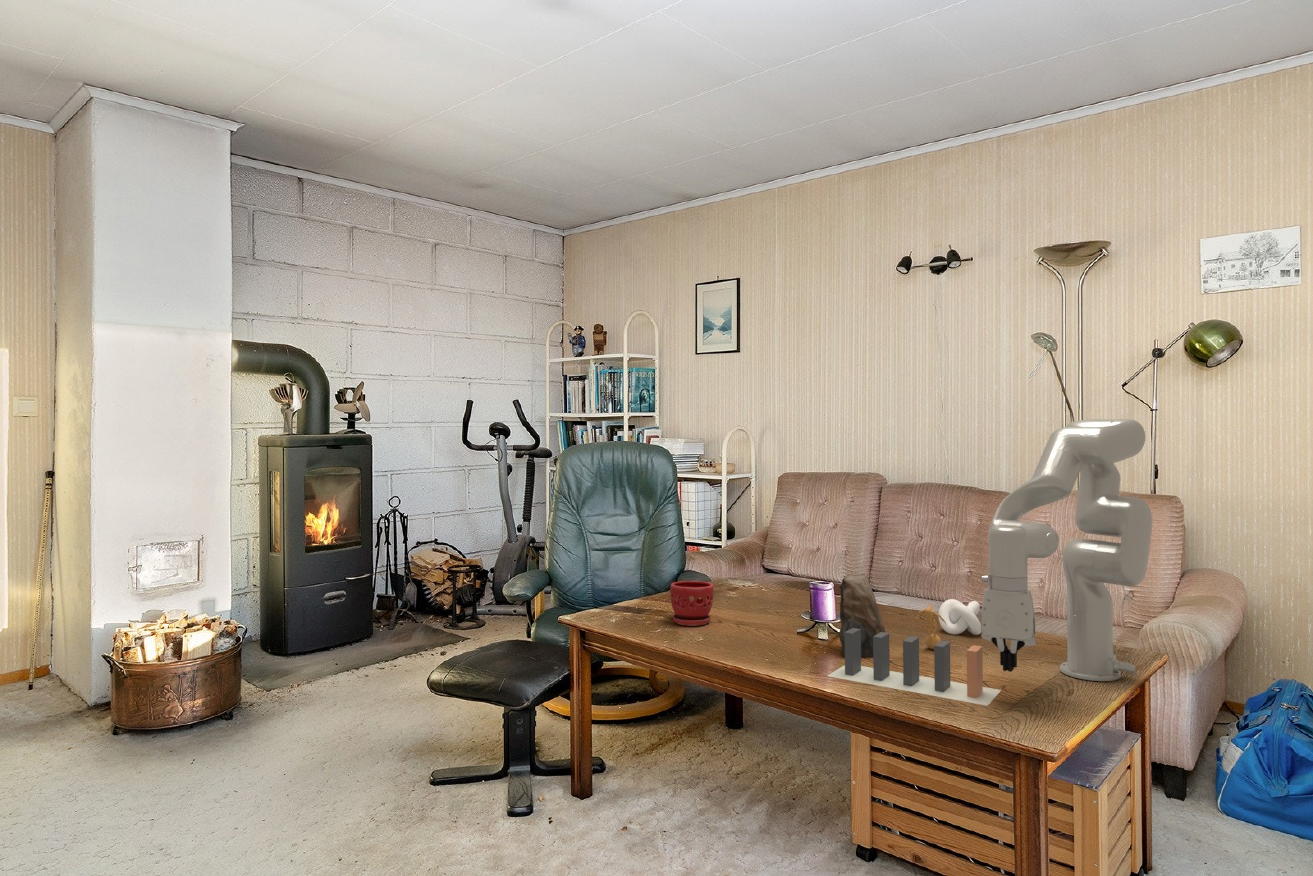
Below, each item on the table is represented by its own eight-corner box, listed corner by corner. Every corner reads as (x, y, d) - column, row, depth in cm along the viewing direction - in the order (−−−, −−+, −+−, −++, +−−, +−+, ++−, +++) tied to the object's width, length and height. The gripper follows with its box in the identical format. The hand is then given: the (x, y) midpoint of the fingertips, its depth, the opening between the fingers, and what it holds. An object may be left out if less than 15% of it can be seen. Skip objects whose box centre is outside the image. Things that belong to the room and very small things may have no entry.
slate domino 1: (861, 670, 193) (860, 629, 193) (853, 675, 189) (852, 633, 189) (853, 669, 194) (852, 627, 194) (844, 674, 190) (844, 632, 190)
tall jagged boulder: (843, 660, 202) (842, 581, 202) (827, 647, 215) (826, 572, 215) (891, 658, 204) (890, 580, 203) (873, 645, 216) (872, 571, 216)
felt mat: (1001, 691, 177) (1001, 690, 177) (987, 707, 168) (987, 705, 168) (847, 665, 199) (847, 663, 199) (826, 677, 189) (826, 676, 189)
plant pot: (715, 628, 237) (714, 587, 237) (670, 628, 237) (670, 587, 237) (712, 617, 250) (712, 579, 250) (670, 617, 250) (670, 579, 250)
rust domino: (982, 691, 176) (982, 646, 176) (976, 698, 172) (976, 651, 172) (973, 690, 178) (972, 645, 177) (967, 696, 174) (966, 650, 173)
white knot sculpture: (939, 636, 224) (939, 604, 224) (937, 626, 236) (937, 596, 236) (982, 639, 221) (982, 606, 221) (979, 628, 232) (978, 597, 232)
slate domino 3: (919, 680, 185) (919, 637, 184) (912, 686, 181) (911, 642, 180) (910, 679, 186) (910, 636, 186) (903, 685, 182) (902, 641, 182)
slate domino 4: (950, 686, 180) (950, 641, 180) (943, 692, 176) (943, 647, 176) (941, 684, 182) (941, 640, 182) (934, 690, 178) (934, 645, 177)
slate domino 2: (889, 675, 189) (889, 633, 189) (881, 681, 185) (881, 637, 185) (881, 674, 190) (880, 631, 190) (873, 679, 186) (873, 636, 186)
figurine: (951, 650, 211) (951, 604, 210) (942, 655, 206) (942, 608, 206) (921, 644, 216) (921, 600, 216) (911, 649, 212) (911, 604, 212)
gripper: (966, 583, 172) (967, 668, 172) (1042, 590, 163) (1043, 680, 163) (976, 577, 178) (976, 660, 178) (1050, 584, 169) (1050, 671, 169)
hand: (1008, 669), depth 171 cm, fingers closed
